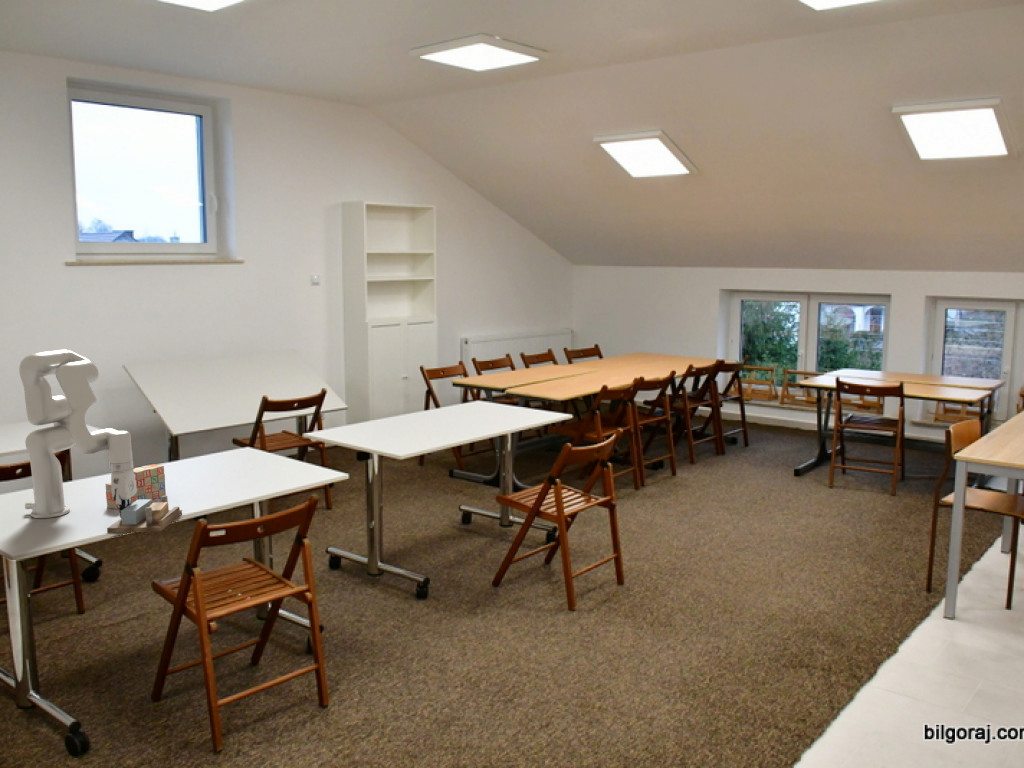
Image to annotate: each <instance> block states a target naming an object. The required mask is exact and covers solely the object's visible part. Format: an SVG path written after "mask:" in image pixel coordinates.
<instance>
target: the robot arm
mask: <svg viewBox="0 0 1024 768" xmlns="http://www.w3.org/2000/svg"><path fill="white" fill-rule="evenodd" d="M97 367H98V366H96V364H95V363H94V362H92V361H91V360H89V359H88V358H86V357H84V356H82V355H80V354H78V353H76V352H73V351H72V350H69V349H68V350H67V349H57V350H50V351H48V350H47V351H40V352H35V353H31V354H29V355H26V356H25V357H24V358H22V360H21V362H20V364H19V369H18V370H19V371H18V372H19V376H20V379H21V383H22V385H23V386H22V387H23V391H24V400H25V409H26V416H27V420H28V422H29V423H30V424H31V425H33V426H38V427H39V426H45V425H50V424H53V426H47V427H44V428H40V429H39V428H38V429H36V430H35V429H34V430H33V431H32V432H30V433H28V435H27V436H26V438H25V441H24V442H25V448H26V451H27V454H28V458H29V462H30V470H31V480H32V489H33V499H34V502H25V504H24V509H25V510H32V511H30V516H31V517H32V518H33V519H49V518H55V517H60V516H63V515H67V514H68V513H69V512H70V510H71V507H70V506H67V505H66V504H65V496H64V495H65V494H64V484H63V474H62V473H63V471H62V465H61V462H60V460H59V459H58V458H57V457H56V455H55V454H56V453H59V452H62V451H65V450H69V449H71V448H73V447H74V446H75V445H76V446H77V449H78V450H79V451H80V452H81V453H82V454H84V455H94V454H98V453H100V452H105V451H107V453H108V464H109V472H110V473H111V477H110V478H111V479H110V483H111V491H112V498H113V500H116V505H118V506H119V509H118V510H119V519H121V511H122V510H123V509H125V508H126V507H128V506H129V505H130V504H131V497H133V496H134V495H135V494H136V493H137V487H136V480H135V474H134V470H133V469H134V459H133V449H132V446H133V445H132V436H131V432H129V431H128V430H117V429H114V428H108V427H107V428H103V429H98V430H94V431H89V428H88V426H87V425H86V420H85V417H86V414H87V412H88V410H90V409H91V408H92V407H93V406H95V404H96V403H97V397H96V395H95V393H94V391H93V390H92V389H93V388H91V387H92V386H91V385H90V384H93V383H95V382H96V381H97V380H98V379H99V375H100V374H99V369H98V368H97ZM54 375H55V378H56V380H57V382H58V384H59V386H60V388H61V390H62V392H63V394H64V395H53V393H52V386H51V384H50V382H49V381H48V380H47V379H46V377H47V376H54Z"/></svg>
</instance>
